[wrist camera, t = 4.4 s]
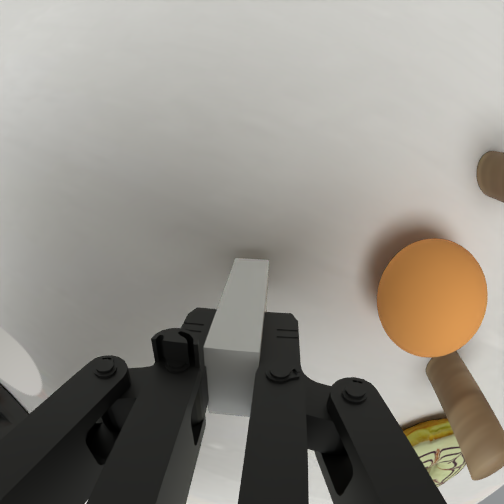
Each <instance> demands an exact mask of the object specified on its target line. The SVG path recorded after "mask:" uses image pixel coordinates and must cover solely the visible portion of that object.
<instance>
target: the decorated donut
mask: <svg viewBox="0 0 504 504" xmlns="http://www.w3.org/2000/svg"><path fill="white" fill-rule="evenodd" d="M403 432H404V434H405V435H406V437H407V438H408V440H409V442H410V443H411V445H412V447H413V448H414V450H415V451H416V453H417V455H418V456H419V458H420V460H421V461H422V463H423V465H424V466H425V468H426V469H427V471H428V473H429V474H430V476H431V478H432V479H433V481H434V483H435V484H436V486H437V487H439V486H440V485H442V484H444V483H445V482H446V481H447V480H449V479H450V478H452V477H453V476H455V475H456V474H458V473H459V472H460V471H461V470H462V469H463V467H464V466H465V465H466V462H465V459H464V457H463V454H462V452H461V449H460V447H459V444H458V442H457V440H456V437H455V435H454V433H453V430H452V428H451V426H450V423H449V421H448V419H447V418H445V419H439V420H430V421H426V422H423V423H419V424H417V425H415V426H413V427H410V428H407V429H405V430H403Z"/></svg>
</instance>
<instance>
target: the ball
mask: <svg viewBox="0 0 504 504" xmlns="http://www.w3.org/2000/svg"><path fill="white" fill-rule="evenodd" d="M486 306H487V284H486V280H485V276H484V274H483V271H482V269H481V267H480V265H479V263H478V262H477V261H476V259H475V258H474V257H473V256H472V254H471V253H470V252H469V251H467V250H466V249H465V248H463V247H462V246H460V245H458V244H457V243H454V242H452V241H449V240H445V239H437V238H433V239H424V240H420V241H417V242H414V243H412V244H410V245H408V246H407V247H405V248H403V249H402V250H401V251H400V252H398V253H397V254H396V255H395V256H394V257H393V258H392V260H391V261H390V262H389V264H388V265H387V267H386V268H385V270H384V272H383V274H382V277H381V280H380V283H379V287H378V294H377V307H378V313H379V318H380V321H381V323H382V326H383V328H384V330H385V332H386V333H387V335H388V336H389V337H390V339H391V340H392V341H393V342H394V343H395V344H396V345H397V346H399V347H400V348H401V349H403V350H404V351H406V352H408V353H410V354H413V355H416V356H421V357H440V356H444V355H447V354H450V353H452V352H454V351H456V350H458V349H460V348H461V347H462V346H464V345H465V344H466V343H467V342H468V341H469V340H470V339H471V338H472V337H473V336H474V334H475V333H476V332H477V330H478V328H479V327H480V325H481V323H482V320H483V318H484V315H485V311H486Z"/></svg>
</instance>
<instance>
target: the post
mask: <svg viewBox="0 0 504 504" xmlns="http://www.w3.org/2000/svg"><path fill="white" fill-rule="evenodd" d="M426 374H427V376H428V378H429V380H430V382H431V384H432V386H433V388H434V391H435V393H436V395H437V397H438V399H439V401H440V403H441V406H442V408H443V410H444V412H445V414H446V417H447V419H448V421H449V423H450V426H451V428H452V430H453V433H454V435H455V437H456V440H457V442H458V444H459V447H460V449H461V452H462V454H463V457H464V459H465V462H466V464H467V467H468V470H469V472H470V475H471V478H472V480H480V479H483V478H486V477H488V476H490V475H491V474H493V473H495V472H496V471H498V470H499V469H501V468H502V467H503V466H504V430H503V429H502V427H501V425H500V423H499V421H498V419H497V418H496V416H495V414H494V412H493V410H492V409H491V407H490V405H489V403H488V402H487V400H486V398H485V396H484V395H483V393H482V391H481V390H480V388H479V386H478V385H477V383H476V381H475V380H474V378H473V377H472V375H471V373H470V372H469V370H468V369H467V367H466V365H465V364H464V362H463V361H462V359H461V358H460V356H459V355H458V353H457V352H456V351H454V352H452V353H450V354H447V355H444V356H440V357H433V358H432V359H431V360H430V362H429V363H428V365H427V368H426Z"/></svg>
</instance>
